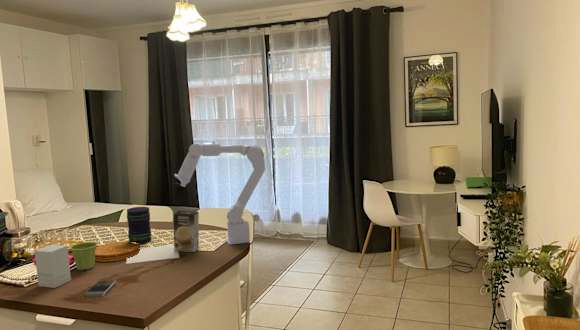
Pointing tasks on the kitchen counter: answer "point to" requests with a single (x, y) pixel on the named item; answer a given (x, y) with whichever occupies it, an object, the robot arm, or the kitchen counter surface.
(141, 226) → the storage jar
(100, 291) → the cell phone
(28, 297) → the kitchen counter surface
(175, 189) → the robot arm
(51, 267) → the supplement box
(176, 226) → the coffee box
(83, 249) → the plant pot
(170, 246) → the mat
